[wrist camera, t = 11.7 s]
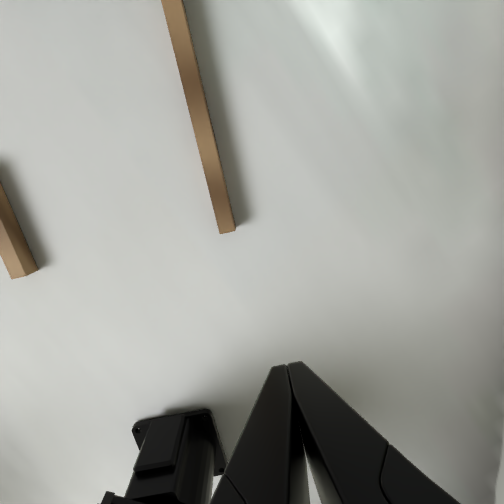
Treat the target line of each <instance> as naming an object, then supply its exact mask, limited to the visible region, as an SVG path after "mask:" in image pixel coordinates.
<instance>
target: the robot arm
mask: <svg viewBox="0 0 504 504" xmlns="http://www.w3.org/2000/svg"><path fill="white" fill-rule="evenodd" d="M287 368H288V369H287ZM205 416H207V417H205ZM299 425H300V426H299ZM138 428H139V429H138ZM300 430H301V431H300ZM132 433H133V436H134V438H135V441H136V443H137V445H138V448H139V450H140V452H139V455H138V457H137V460H136V463H135V465H134V468H133V471H134V472H133V475H132V477H131V480H130V483H129V485H128V488H127V491H126V493H125V496H124V497H121V496H117V495H114V494H115V493H113V492H109V491H106V493H105V496H104V498H103V500H102V502H101V504H310V497H309V486H308V475H307V465H306V457H307V460H308V463H309V467H310V470H311V473H312V476H313V479H314V482H315V485H316V488H317V491H318V494H319V497H320V500H321V503H322V504H461V503H459V502H458V501H457V500H456V499H454V498H453V497H452V496H450V495H449V494H448V493H447V492H445V491H444V490H443V489H442V488H440V487H439V486H438V485H437V484H435V483H434V482H433V481H432V480H430V479H429V478H428V477H427V476H426V475H425V474H424V473H422V472H421V471H420V470H419V469H418V468H417V467H416V466H414V465H413V464H412V463H411V462H410V461H409V460H408V459H406V458H405V457H404V456H403V455H402V454H401V453H400V452H399V451H398V450H397V449H396V448H395V447H394V446H393V445H391V444H390V445H389V442H388V441H387V440H386V439H385V438H384V437H383V436H382V435H381V434H379V433H378V432H377V431H376V430H375V429H374V428H373V427H372V426H371V425H370V424H369V423H368V422H367V421H366V420H364V419H363V418H362V417H361V416H360V415H359V414H358V413H357V412H356V411H355V410H354V409H353V408H352V407H350V406H349V405H348V404H347V403H346V402H345V401H344V400H343V399H342V398H341V397H340V396H339V395H338V394H337V393H335V392H334V391H333V390H332V389H331V388H330V387H329V386H328V385H327V384H326V383H325V382H324V381H323V380H321V379H320V378H319V377H318V376H317V375H316V374H315V373H314V372H313V371H312V370H311V369H310V368H309V367H308V366H306V365H305V364H304V363H303V362H302V361H298V362H293V363H289V364H288V365H287V366H286V365H285V364H283V365H278V366H273V367H272V368H271V369H270V372H269V374H268V376H267V378H266V380H265V383H264V385H263V387H262V389H261V391H260V394H259V396H258V398H257V400H256V402H255V405H254V407H253V409H252V411H251V413H250V416H249V418H248V420H247V422H246V424H245V427H244V429H243V431H242V433H241V435H240V438H239V440H238V442H237V444H236V446H235V449H234V451H233V453H232V455H231V457H230V460H229V462H228V463H227V460H226V457H225V453H224V450H223V447H222V444H221V441H220V437H219V434H218V431H217V428H216V424H215V421H214V418H213V415H212V412H211V411H210V410H208V409H202V410H197V411H192V412H187V413H182V414H176V415H171V416H166V417H161V418H156V419H150V420H145V421H140V422H136V423H135V424H134V426H133V428H132ZM302 439H303V440H302ZM303 444H304V445H303ZM304 448H305V451H304ZM305 453H306V457H305ZM218 475H222V477H221V479H220V481H219V483H218V486H217V488H216V490H215V492H214V494H213V496H212V499H211V495H212V485H213V476H218ZM97 504H98V503H97Z"/></svg>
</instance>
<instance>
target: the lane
mask: <svg viewBox="0 0 504 504" xmlns="http://www.w3.org/2000/svg"><path fill="white" fill-rule="evenodd" d="M161 1H162V5H163V9H164V13H165V17H166V21H167V25H168V29H169V33H170V37H171V41H172V45H173V49H174V53H175V57H176V61H177V65H178V69H179V73H180V77H181V81H182V85H183V89H184V93H185V97H186V101H187V105H188V109H189V113H190V117H191V121H192V125H193V129H194V133H195V137H196V141H197V145H198V149H199V153H200V157H201V161H202V165H203V169H204V173H205V177H206V181H207V185H208V189H209V193H210V197H211V201H212V205H213V209H214V213H215V217H216V221H217V225H218V229H219V233H220V234H223V233H228V232H233V231H235V229H236V226H235V221H234V217H233V213H232V209H231V204H230V200H229V196H228V191H227V187H226V183H225V179H224V174H223V170H222V166H221V162H220V157H219V153H218V149H217V145H216V140H215V136H214V132H213V127H212V123H211V119H210V115H209V110H208V106H207V102H206V98H205V93H204V89H203V85H202V81H201V76H200V72H199V68H198V63H197V59H196V55H195V51H194V46H193V42H192V38H191V34H190V29H189V25H188V21H187V16H186V12H185V8H184V4H183V0H161ZM0 255H1V257H2V259H3V262H4V264H5V266H6V268H7V270H8V272H9V275H10V277H11V279H15V278H20V277H24V276H27V275H29V274H31V273H33V272H36V271H38V268H37V266H36V263H35V261H34V259H33V256H32V254H31V252H30V250H29V247H28V245H27V243H26V240H25V238H24V236H23V233H22V231H21V229H20V227H19V224H18V222H17V220H16V217H15V215H14V213H13V210H12V208H11V206H10V204H9V201H8V199H7V197H6V194H5V192H4V190H3V187H2V185H1V183H0Z"/></svg>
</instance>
